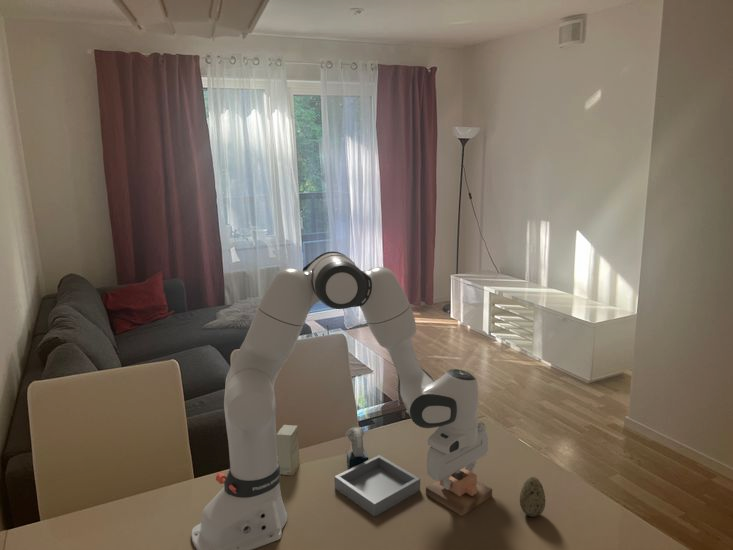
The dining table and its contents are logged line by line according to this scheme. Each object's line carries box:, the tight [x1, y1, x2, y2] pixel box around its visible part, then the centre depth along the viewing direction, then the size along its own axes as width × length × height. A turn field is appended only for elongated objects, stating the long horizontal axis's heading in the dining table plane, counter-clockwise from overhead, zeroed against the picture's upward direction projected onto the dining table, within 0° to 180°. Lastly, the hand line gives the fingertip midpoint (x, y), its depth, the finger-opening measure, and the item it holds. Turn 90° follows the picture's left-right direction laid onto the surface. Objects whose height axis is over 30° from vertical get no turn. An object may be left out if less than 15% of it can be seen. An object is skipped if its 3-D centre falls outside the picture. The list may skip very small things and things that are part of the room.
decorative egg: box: [519, 476, 546, 518], centre depth 131 cm, size 6×6×10 cm
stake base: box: [425, 470, 493, 517], centre depth 139 cm, size 12×12×6 cm
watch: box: [345, 426, 369, 470], centre depth 154 cm, size 6×8×11 cm
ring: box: [440, 467, 478, 496], centre depth 138 cm, size 7×9×3 cm
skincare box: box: [276, 424, 301, 476], centre depth 152 cm, size 6×4×12 cm
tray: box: [334, 454, 421, 518], centre depth 142 cm, size 16×16×4 cm
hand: (458, 481), depth 139 cm, fingers closed on ring, 7 cm apart
